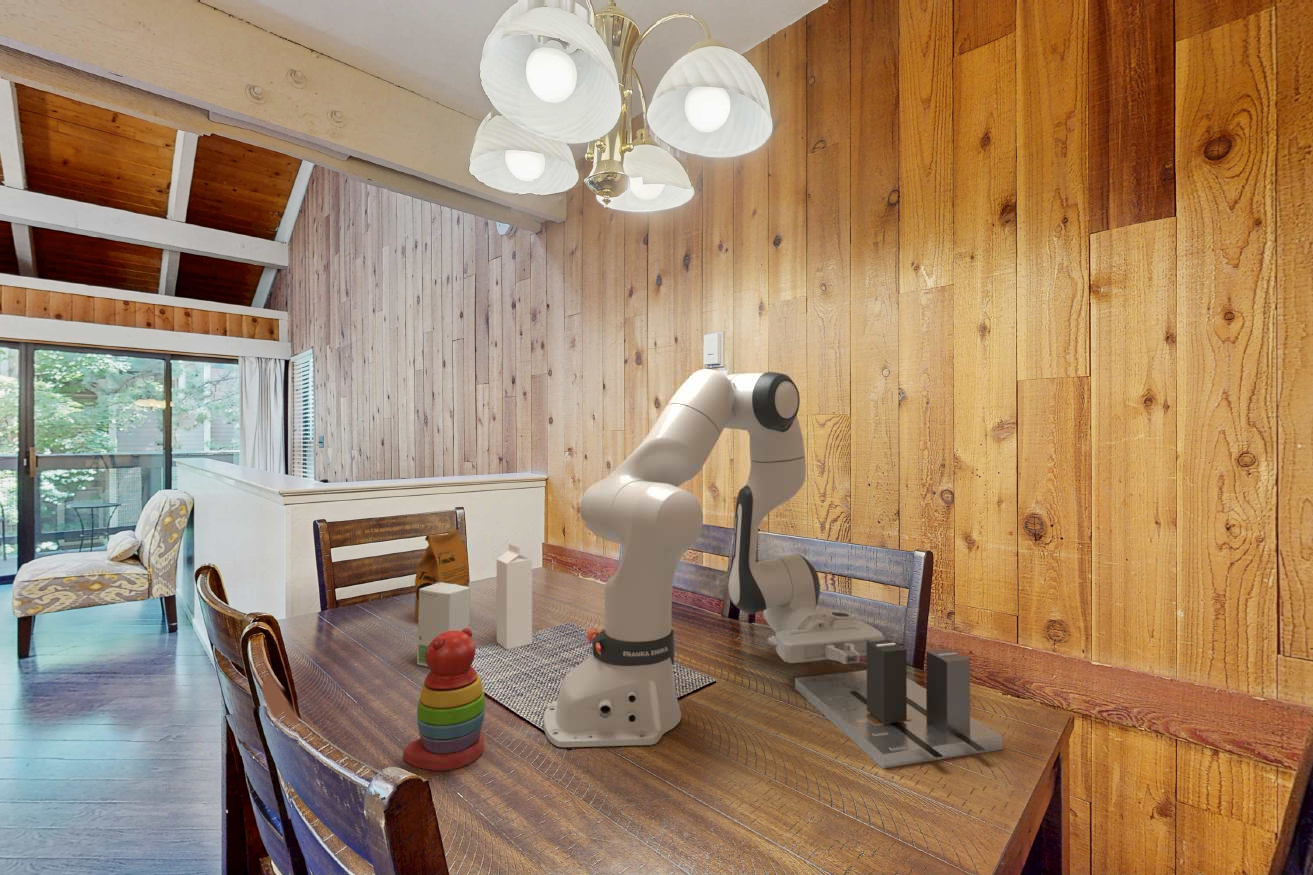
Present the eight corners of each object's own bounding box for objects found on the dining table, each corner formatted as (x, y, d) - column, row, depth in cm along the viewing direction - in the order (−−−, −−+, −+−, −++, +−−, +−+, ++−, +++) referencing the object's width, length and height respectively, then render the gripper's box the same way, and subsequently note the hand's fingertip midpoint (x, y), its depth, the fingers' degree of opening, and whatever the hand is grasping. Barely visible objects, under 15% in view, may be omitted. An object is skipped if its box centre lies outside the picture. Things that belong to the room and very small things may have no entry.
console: (894, 778, 78) (894, 681, 78) (795, 689, 105) (794, 617, 105) (1016, 758, 82) (1016, 666, 82) (890, 677, 110) (890, 608, 110)
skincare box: (416, 665, 117) (415, 588, 117) (439, 654, 123) (439, 581, 123) (448, 671, 113) (448, 592, 113) (471, 659, 120) (471, 584, 120)
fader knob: (883, 723, 88) (883, 650, 88) (866, 710, 92) (866, 640, 92) (906, 720, 89) (906, 648, 89) (888, 707, 93) (888, 638, 93)
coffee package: (408, 622, 144) (408, 534, 144) (445, 609, 155) (445, 527, 155) (438, 628, 140) (437, 537, 140) (474, 613, 151) (474, 530, 151)
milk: (506, 650, 125) (506, 549, 125) (496, 642, 130) (495, 544, 130) (532, 643, 129) (532, 545, 129) (521, 636, 134) (521, 541, 133)
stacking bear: (464, 727, 92) (463, 615, 92) (502, 748, 85) (502, 629, 85) (397, 756, 83) (397, 633, 83) (434, 782, 77) (434, 650, 77)
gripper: (763, 620, 111) (797, 646, 97) (858, 612, 116) (902, 635, 102) (763, 653, 111) (797, 683, 97) (858, 644, 116) (902, 671, 102)
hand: (852, 659), depth 100 cm, fingers closed
